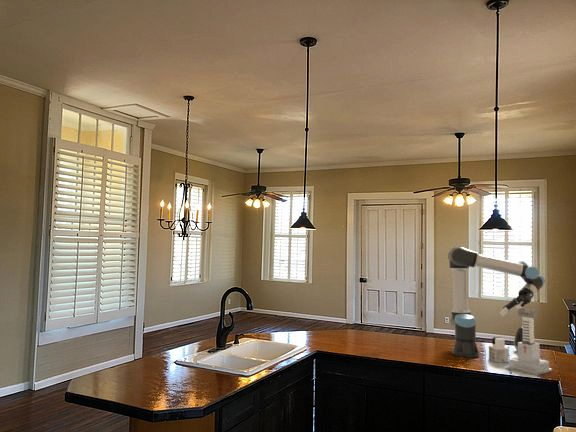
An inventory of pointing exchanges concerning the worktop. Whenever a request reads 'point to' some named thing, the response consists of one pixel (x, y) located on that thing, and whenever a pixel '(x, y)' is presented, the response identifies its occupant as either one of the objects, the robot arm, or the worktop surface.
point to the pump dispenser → (518, 337)
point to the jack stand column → (528, 324)
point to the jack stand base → (529, 360)
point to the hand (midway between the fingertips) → (509, 312)
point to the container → (498, 350)
